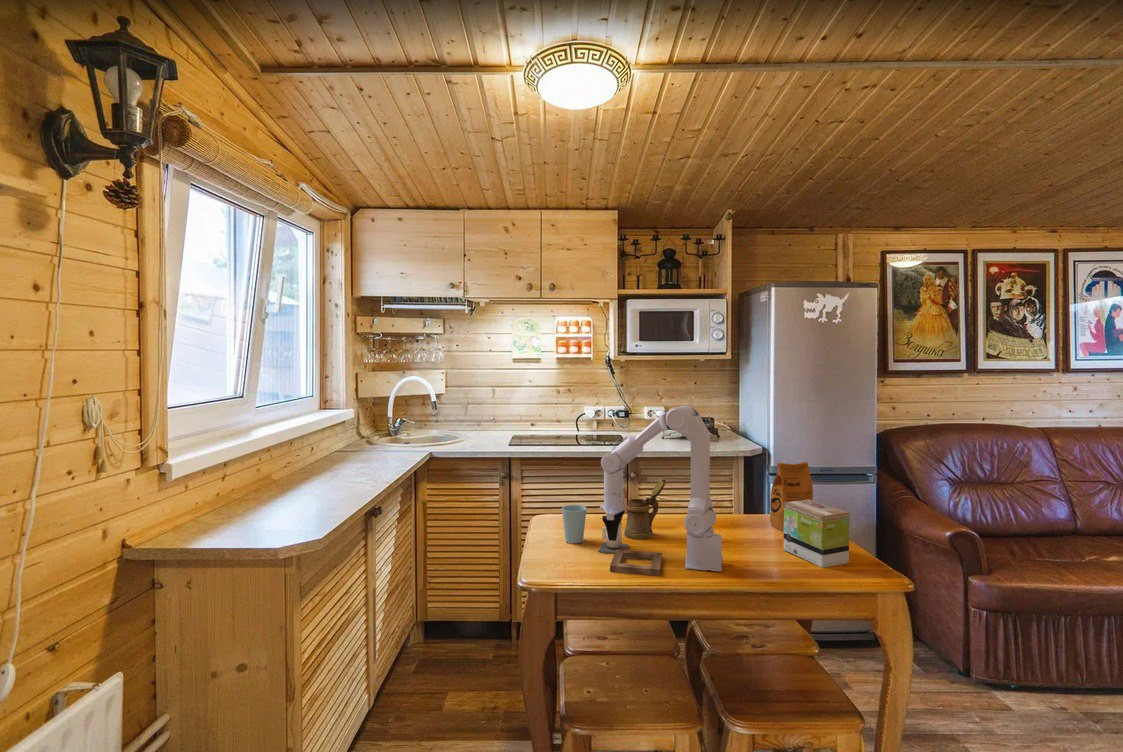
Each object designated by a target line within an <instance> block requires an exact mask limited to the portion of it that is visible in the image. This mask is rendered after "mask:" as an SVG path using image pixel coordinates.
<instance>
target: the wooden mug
mask: <svg viewBox="0 0 1123 752" xmlns="http://www.w3.org/2000/svg"><path fill="white" fill-rule="evenodd" d="M665 485H666V478H663V479H662V480H660V481H657V483H656V484H655V486H654V487H653V489H652V490H651V494H650V495H651V496H649V497H646V498H645V499H644V498H630V499H628V504H627V507H626V510H627V516H626V524H625V529H624V533H623V535H624V536H625V537H626V536H627V537H626V538H628V537H629V539H631V538H633V539H632V540H646V539H645V538H648V539H650V538H652V537H653V533H654V532H653V528H652V526H653V521H654V519H655V517H656V516H657V514H658V511H659V501H658V499H657V497H658V496H659V495H660V494H661V492H662V491H663V490H664V488H665ZM650 506H651V507H652V511H651V512H650V510H651V507H650ZM649 537H650V538H649Z"/></svg>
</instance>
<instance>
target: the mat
mask: <svg viewBox="0 0 1123 752" xmlns="http://www.w3.org/2000/svg"><path fill="white" fill-rule="evenodd" d="M629 545H630V544H629V543H622V546H621V547H618V548H611V547H608V546H606V542H605V541H602V542H601V544H600V546H599V548H598V549H597V550H598V551H597V553H598V552H600V554H609V553H613V555H614V554H615V552H616V549H620V550H628V549H627V548H629Z"/></svg>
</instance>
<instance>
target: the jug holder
mask: <svg viewBox="0 0 1123 752" xmlns="http://www.w3.org/2000/svg"><path fill="white" fill-rule="evenodd" d="M630 558H632V560H642V559H647V560H646V561H652V563H651V565H644V564H642V565H641V564H633V563H632V564H631V563H630V564H629V563H622V562H623V560H624V559H630ZM662 560H663V552H657V551H643V550H633V549H631V550H630V549H627V550H620V549H616V552H615V554H613V557H612V560H611V562H610V565H609V572H610V573H611V572H612V573H622V574H623V573H625V574H634V575H635V574H636V575H645V576H655V577H656V576H657V577H659V576H660V573H661V568H662Z"/></svg>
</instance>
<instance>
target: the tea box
mask: <svg viewBox="0 0 1123 752" xmlns="http://www.w3.org/2000/svg"><path fill="white" fill-rule="evenodd" d="M783 551H785V552H788V553H791V554H793V555H795V556H797V557H798V558H801V559H803V560H805V561H807V562H809V563H811V564H812V565H815V566H818V567H820V568H822V569H823V568H824V569H825V568H829V567H835V566H842V565H844V564H845V565H846V564H849V562H850V559H849V558H850V511H846V510H843V509H840V508H837V507H833V506H831V505H828V504H825V503H821V502H819V501H815V500H814V499H813V500H810V499H807V500H800V501H793V502H786V503H785V502H784V531H783Z"/></svg>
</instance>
